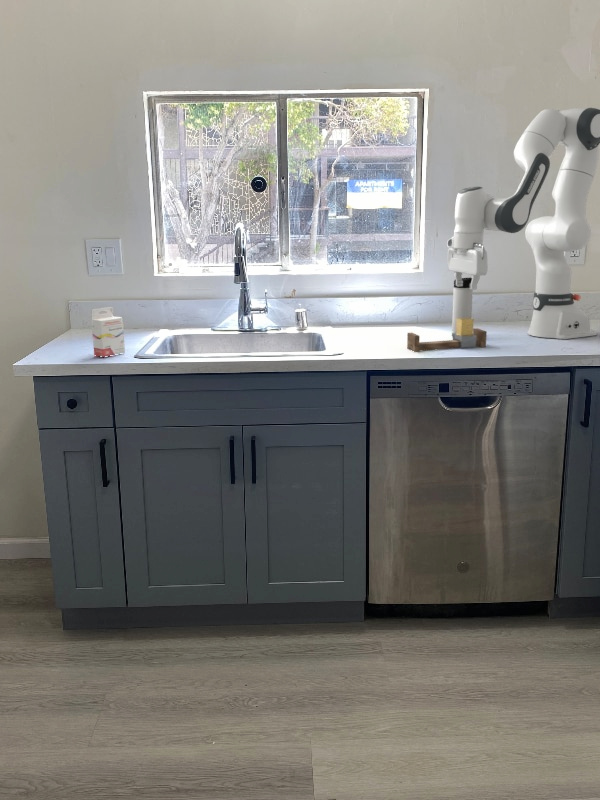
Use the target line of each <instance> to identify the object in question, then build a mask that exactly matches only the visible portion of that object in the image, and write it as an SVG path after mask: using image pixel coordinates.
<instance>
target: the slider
mask: <svg viewBox="0 0 600 800" xmlns="http://www.w3.org/2000/svg"><path fill="white" fill-rule="evenodd" d="M473 329H474V318H472V317H471V318H469V317H468V318H457V326H456V333H453V337H452V340H459V341H460V346H459V347H460V348H459V349H464V348H465V349H466V348H476V335H473Z"/></svg>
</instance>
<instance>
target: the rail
mask: <svg viewBox="0 0 600 800" xmlns="http://www.w3.org/2000/svg"><path fill="white" fill-rule="evenodd" d="M487 333H488V332H487V331H486V330H484V329H481V328H478V327H477V328H476V327H475V328H474V327H473V335H476V347H480V348H486V346H487ZM406 336H407V342H406V344H407V345H406V347H407V348H406V349H407V350H409V351H411V350H412V352H413V351H414V352H413V353H419V352H420V350H423V351H433V350H435V349H437V350H447V349H448V350H449V349H461V348H460V347H459V346H460V341H459V340H453V339H451V340H450V339H449V340H437V341H436V340H435V341H421V342H420V335H419V334H416V333H415V332H407V335H406ZM476 347H475V348H476ZM435 351H436V350H435Z"/></svg>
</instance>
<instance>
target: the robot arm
mask: <svg viewBox="0 0 600 800" xmlns="http://www.w3.org/2000/svg"><path fill="white" fill-rule="evenodd" d="M599 145H600V109H598V108H595V107H587V108H586V107H572V108H569V109H562V110H557V109H554V108H545V109H543V110H541V111H540V112H539V113H538V114H537V115H535V117H534V118H533V119H532V120H531V121H530V123H529V124H528V125H527V127H526V128H525V130H524V131H523V133H522V134H521V136H520V138H519V139H518V141H517V142H516V144H515V147H514V149H513V158H514V161H515V163H516V165H517V166H518V167H520V169H522V171H523V172H524V175H523V177H522V179H521V181H520V182H519V184H518V187H517V189H516V191H515V193H514V194H512V195H510V196H509V197H503V198H498V197H495V196H492V195H491V194H489V193H487V191H485V189H484V188H483V186H472V187H471V186H470V187H466V188H462V189H461V190H459V191H458V193H457V195H456V198H455V199H456V200H455V205H454V207H455V208H454V221H455V226H454V230H453V236H452V237H451V238H449V239H448V240H447V241H446V247H447V248H448V249H447V268H448V270H449V271H452V272H453V276H454V280H455V279H456V286H463V281H462V278H463V277H462V275H463V274H467V275H470V278H472V281H471V284H470V287H469V288H470V289H471V290H473V291H474V290H478V284H479V280H480V277H481V276H486V275H487V273H488V253H487V250H486V248H485V246H484V230H485V231H492V232H504V233H509V234H515V233H519V232H520V231H522V230H523V229H524V228H525V231H524V232H525V233H524V237H525V241H526V242H527V244H529V246H530V247H531V251H532V253H533V257H534V263H535V273H536V274H535V291H534V293H533V299H532V305H533V306H532V307H533V312H532V317H531V322H530V325H529V328H528V331H527V334H528V335H529V336H533V337H538V338H549V339H559V340H567V339H568V340H569V339H577V338H578V339H579V338H585V337H592V336H597V335H598V333H597V331H596V330H593V329H591V322H590V321H591V320H590V317H589V316H588V314H587V313H585V312H584V311H583V310H582V309H581V308H580V307H578V305H576V304H575V302H574V301H577V302H578V301H580V300H581V298H582V296H581V295H580V294H577V293H575V294H573V293H571V284H572V273H573V272H572V268H571V266H570V265H569V263H568V262H567V260H566V255H565V252H566V253H568V252H569V253H570V252H574V251H578V250H583V248H584V247H586V246H587V245H588V243H589V242H590V239H591V235H592V231H591V230H592V229H591V227H590V224H589V223H588V221H587V215H586V209H587V208H586V207H587V201H588V198H589V194H590V190H591V188H592V184H593V182H594V181H593V180H594V178H595V175H596V172H597V168H598V164H599V156H600V147H599ZM558 146H562V147H565V155H564V157H563V159H562V162H561V164H560V166H559V170H558V173H557V175H556V179H555V182H554V185H553V187H552V188H553V189H552V191H551V197H552V199H553V200H554V203H555V211H554V215H544V216H540V217H537V218H533V219H532V220H530V221H529V219H530V215H531V213H532V209H533V206H534V203H535V201H536V199H537V197H538V194H539V193H540V190H541V188H542V186H543V185H544V182H545V180H546V177H547V175H548V173H549V170H550V168H551V167H550V166H551V165H550V164H551V161H550V159H551V157H552V156H553V154H554V152H555V150H556V148H557V147H558ZM528 221H529V223H528Z"/></svg>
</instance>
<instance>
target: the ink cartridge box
mask: <svg viewBox="0 0 600 800" xmlns="http://www.w3.org/2000/svg"><path fill="white" fill-rule="evenodd" d="M101 312H105V313H101ZM90 314H91V321H90V322H91V332H92V334H91V335H92V345H93V356H94V355H96V356H102V357H105V356H110V355H115V354H120V353H125V354H126V352H125V351H126V348H125V331H124V322H123V321H124V318H123V317H122V316H114V307H113V306H110V307H107V306H106V307H101V308H100V307H99V308H94V309H93V308H92V309H91V313H90ZM96 356H95V357H96Z"/></svg>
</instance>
